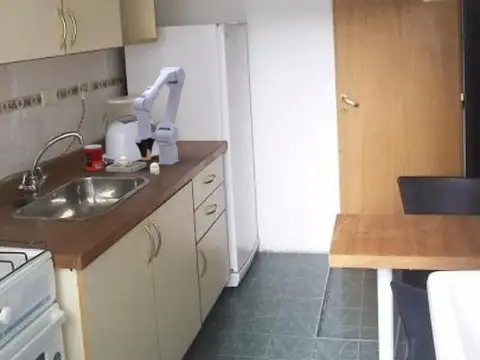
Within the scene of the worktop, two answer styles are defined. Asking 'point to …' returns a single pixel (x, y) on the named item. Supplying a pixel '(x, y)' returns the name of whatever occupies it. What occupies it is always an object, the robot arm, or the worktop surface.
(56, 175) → the worktop surface
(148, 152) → the brown egg
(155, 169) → the cream egg loose
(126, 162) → the cream egg seated
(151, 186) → the worktop surface
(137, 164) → the egg tray
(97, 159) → the canned food
